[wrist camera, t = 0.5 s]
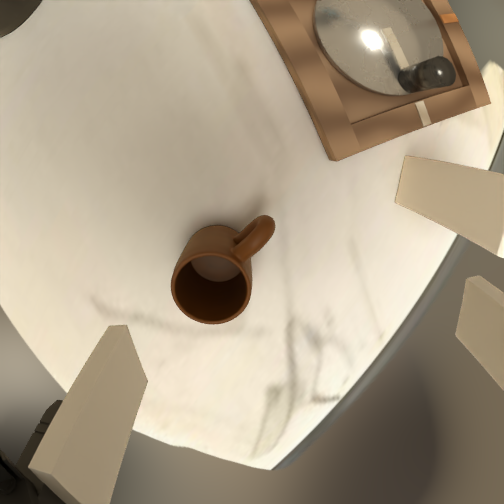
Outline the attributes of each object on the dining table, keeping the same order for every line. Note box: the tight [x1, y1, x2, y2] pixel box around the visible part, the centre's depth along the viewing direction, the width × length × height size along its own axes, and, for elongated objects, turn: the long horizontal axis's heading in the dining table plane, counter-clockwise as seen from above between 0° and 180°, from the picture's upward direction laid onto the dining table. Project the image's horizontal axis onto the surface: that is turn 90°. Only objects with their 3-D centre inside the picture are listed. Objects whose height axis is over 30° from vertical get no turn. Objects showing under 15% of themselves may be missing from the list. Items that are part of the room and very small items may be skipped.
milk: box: [395, 156, 504, 258], centre depth 25 cm, size 6×6×22 cm
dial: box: [313, 0, 456, 96], centre depth 23 cm, size 16×16×8 cm
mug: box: [171, 215, 275, 324], centre depth 32 cm, size 12×8×9 cm, turn 137°
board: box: [250, 0, 491, 161], centre depth 27 cm, size 24×24×3 cm
